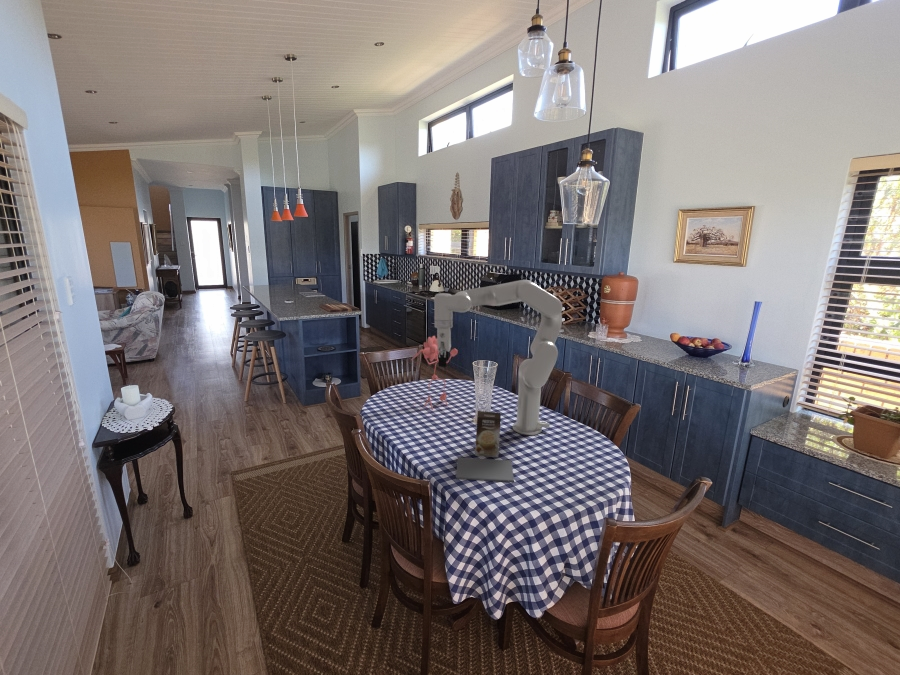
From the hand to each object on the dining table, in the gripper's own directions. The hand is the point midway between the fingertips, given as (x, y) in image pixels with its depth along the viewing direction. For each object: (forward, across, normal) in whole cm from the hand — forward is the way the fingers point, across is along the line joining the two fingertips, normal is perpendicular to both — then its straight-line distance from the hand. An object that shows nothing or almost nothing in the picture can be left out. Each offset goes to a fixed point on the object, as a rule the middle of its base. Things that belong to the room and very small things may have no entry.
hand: (443, 363), depth 185 cm
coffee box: (+30, -20, -19) cm, 41 cm away
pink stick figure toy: (+30, +28, +9) cm, 42 cm away
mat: (+30, -33, -18) cm, 48 cm away
